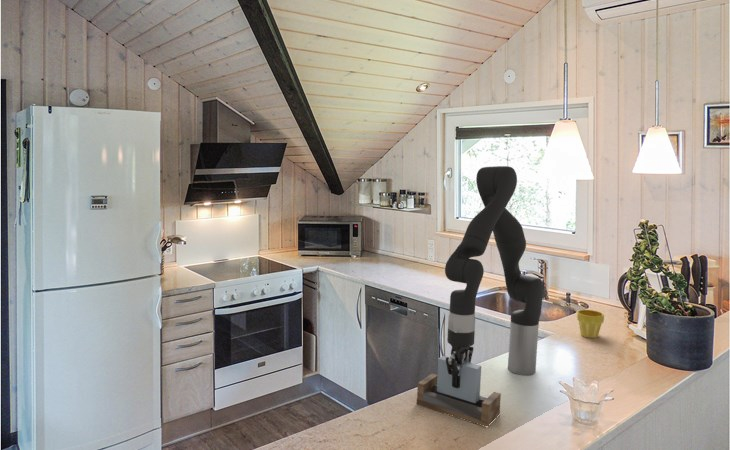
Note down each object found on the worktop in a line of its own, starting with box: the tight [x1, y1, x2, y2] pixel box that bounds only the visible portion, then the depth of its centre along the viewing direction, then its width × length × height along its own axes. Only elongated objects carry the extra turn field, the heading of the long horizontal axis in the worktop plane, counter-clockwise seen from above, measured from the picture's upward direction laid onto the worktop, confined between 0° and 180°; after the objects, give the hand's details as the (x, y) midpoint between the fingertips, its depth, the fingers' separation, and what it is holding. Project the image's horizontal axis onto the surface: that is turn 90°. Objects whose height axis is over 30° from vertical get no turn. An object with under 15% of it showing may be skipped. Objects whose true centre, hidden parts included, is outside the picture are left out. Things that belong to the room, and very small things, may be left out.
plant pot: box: [576, 309, 605, 339], centre depth 217 cm, size 10×10×10 cm
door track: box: [416, 373, 502, 427], centre depth 150 cm, size 9×22×6 cm, turn 54°
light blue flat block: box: [437, 355, 482, 403], centre depth 150 cm, size 3×12×10 cm, turn 54°
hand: (458, 385), depth 150 cm, fingers closed on light blue flat block, 3 cm apart
